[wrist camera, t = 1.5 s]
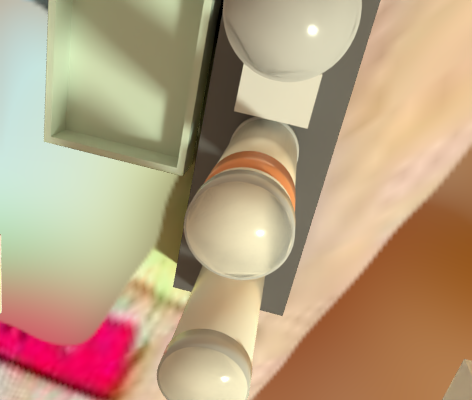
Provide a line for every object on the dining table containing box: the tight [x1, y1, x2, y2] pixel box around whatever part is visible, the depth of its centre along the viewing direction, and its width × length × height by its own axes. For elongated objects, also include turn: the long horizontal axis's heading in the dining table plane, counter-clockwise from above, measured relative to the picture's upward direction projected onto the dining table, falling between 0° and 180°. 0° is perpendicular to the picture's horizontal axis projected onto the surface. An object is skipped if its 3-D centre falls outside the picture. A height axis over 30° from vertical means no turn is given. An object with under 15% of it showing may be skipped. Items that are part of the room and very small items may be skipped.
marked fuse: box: [184, 116, 299, 280], centre depth 24 cm, size 5×5×13 cm
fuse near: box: [223, 0, 362, 82], centre depth 21 cm, size 5×5×13 cm
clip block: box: [173, 0, 380, 316], centre depth 30 cm, size 9×26×6 cm, turn 168°
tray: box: [44, 0, 221, 176], centre depth 31 cm, size 10×13×3 cm
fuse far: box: [157, 266, 265, 400], centre depth 28 cm, size 5×5×13 cm
